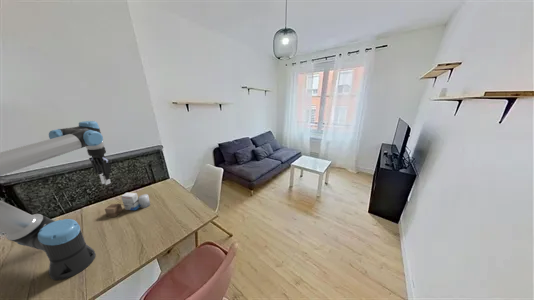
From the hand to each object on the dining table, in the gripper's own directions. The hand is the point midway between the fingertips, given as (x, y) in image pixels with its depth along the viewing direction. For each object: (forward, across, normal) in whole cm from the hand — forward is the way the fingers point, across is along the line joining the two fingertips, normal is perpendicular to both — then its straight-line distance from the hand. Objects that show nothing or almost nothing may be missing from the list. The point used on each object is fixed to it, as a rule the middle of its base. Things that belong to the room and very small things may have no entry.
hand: (106, 183), depth 107 cm
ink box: (+27, 0, -11) cm, 29 cm away
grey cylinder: (+26, -6, -16) cm, 32 cm away
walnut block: (+27, +6, -3) cm, 27 cm away
